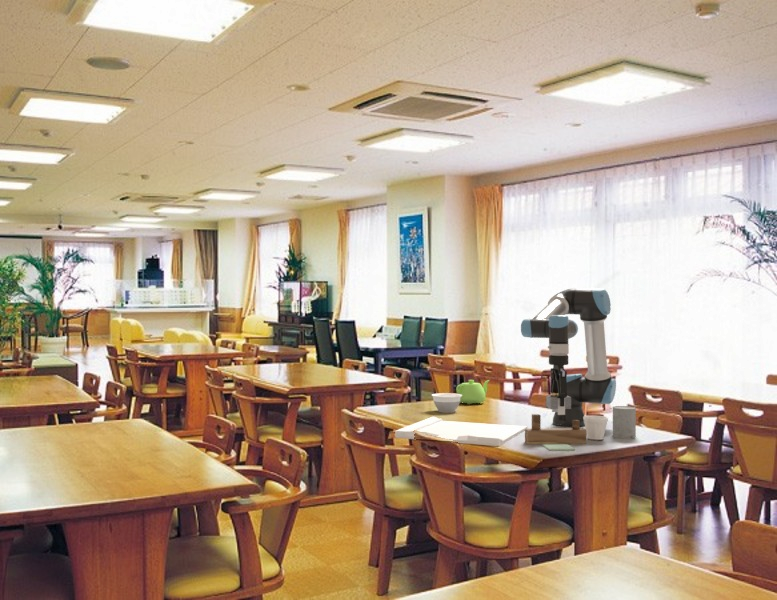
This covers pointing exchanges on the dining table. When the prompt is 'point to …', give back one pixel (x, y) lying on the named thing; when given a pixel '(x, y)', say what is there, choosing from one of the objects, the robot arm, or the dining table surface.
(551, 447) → the mat
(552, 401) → the lever cap
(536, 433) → the body
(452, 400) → the bowl
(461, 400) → the teapot
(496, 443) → the white flat slab
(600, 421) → the cup
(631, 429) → the grey cylindrical container
